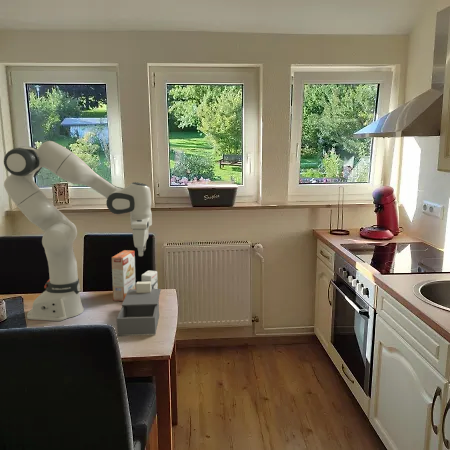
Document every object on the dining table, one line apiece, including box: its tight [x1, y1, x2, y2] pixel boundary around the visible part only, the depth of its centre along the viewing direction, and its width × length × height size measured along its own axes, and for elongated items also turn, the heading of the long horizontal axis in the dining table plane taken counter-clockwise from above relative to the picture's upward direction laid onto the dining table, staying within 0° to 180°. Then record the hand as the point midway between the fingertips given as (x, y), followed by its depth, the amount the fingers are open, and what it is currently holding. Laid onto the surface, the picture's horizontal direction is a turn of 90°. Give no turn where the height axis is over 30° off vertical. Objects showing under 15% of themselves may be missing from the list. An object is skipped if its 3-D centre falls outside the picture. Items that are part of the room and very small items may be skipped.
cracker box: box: [111, 249, 136, 302], centre depth 195 cm, size 14×6×21 cm, turn 170°
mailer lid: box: [121, 281, 162, 307], centre depth 174 cm, size 14×18×5 cm
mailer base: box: [116, 300, 160, 337], centre depth 164 cm, size 14×18×7 cm
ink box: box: [141, 270, 159, 289], centre depth 195 cm, size 8×5×12 cm, turn 168°
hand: (142, 252), depth 177 cm, fingers open, 8 cm apart
